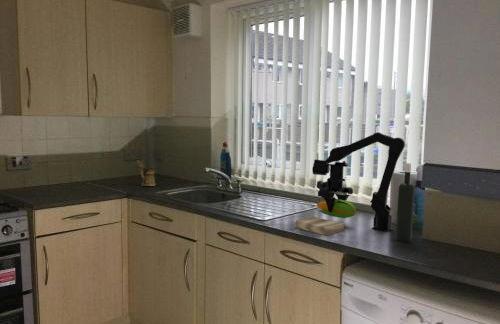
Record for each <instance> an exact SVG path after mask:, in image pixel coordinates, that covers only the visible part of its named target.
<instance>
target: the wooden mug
mask: <svg viewBox="0 0 500 324" xmlns="http://www.w3.org/2000/svg"><path fill="white" fill-rule="evenodd" d="M136 164H137V165H138V166H139V168H140V169H141V170H140V177H141V179H142V183H141V186H142V187H143V186H154V187H156V186H157V185H156V181H155V179H156V178H155V170H154V168H145V166H146V165H145V164H144V162H143V161H141V160H140V159H136ZM155 185H156V186H155Z"/></svg>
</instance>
